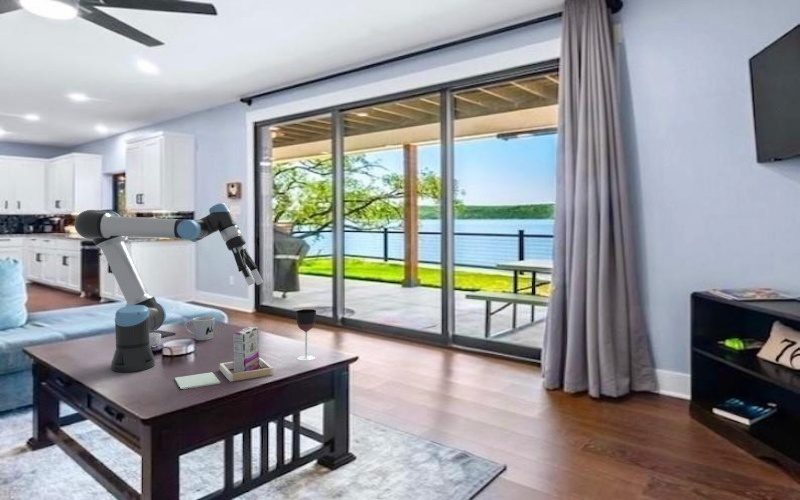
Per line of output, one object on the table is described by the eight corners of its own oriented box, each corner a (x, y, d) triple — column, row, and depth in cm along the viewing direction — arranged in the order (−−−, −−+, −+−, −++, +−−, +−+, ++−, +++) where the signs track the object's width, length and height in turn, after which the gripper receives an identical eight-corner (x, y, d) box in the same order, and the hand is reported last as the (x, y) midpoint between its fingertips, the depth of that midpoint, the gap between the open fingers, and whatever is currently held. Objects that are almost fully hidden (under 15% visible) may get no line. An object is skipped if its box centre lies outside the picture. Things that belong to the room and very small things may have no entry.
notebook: (136, 345, 231) (175, 335, 250) (136, 341, 231) (175, 332, 250) (119, 342, 237) (158, 333, 256) (118, 338, 237) (158, 330, 256)
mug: (210, 341, 238) (210, 320, 237) (179, 340, 238) (178, 320, 237) (218, 336, 248) (218, 316, 247) (188, 335, 248) (188, 315, 248)
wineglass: (319, 356, 213) (319, 310, 212) (307, 361, 205) (307, 313, 204) (304, 354, 217) (304, 308, 215) (292, 359, 209) (292, 311, 208)
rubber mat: (180, 389, 171) (180, 388, 171) (174, 379, 182) (174, 377, 181) (220, 383, 177) (220, 381, 177) (212, 373, 188) (212, 372, 188)
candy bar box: (247, 367, 197) (247, 326, 196) (259, 368, 196) (258, 327, 195) (232, 376, 186) (232, 332, 185) (244, 377, 185) (244, 333, 184)
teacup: (139, 346, 227) (139, 334, 227) (156, 343, 233) (156, 332, 233) (148, 350, 221) (148, 338, 220) (166, 347, 226) (166, 335, 226)
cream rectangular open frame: (229, 381, 180) (229, 374, 180) (219, 369, 193) (219, 363, 193) (273, 374, 188) (273, 367, 188) (260, 363, 202) (260, 357, 202)
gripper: (232, 231, 196) (256, 280, 195) (249, 236, 221) (271, 279, 220) (215, 240, 196) (239, 288, 195) (234, 244, 220) (255, 287, 220)
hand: (256, 284), depth 208 cm, fingers open, 13 cm apart
